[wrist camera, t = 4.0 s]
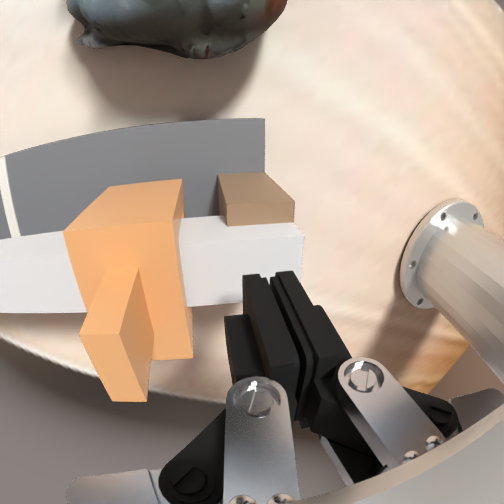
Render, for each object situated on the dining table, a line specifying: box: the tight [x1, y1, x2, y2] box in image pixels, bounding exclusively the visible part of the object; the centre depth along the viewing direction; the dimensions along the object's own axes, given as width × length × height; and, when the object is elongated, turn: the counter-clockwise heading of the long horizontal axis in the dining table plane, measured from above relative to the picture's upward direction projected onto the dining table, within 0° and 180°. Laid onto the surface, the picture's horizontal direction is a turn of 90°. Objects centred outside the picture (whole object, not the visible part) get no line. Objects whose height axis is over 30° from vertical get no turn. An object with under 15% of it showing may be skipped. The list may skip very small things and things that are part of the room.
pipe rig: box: [0, 118, 304, 313], centre depth 15 cm, size 27×12×10 cm, turn 90°
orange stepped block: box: [63, 179, 193, 402], centre depth 12 cm, size 4×6×10 cm, turn 0°
